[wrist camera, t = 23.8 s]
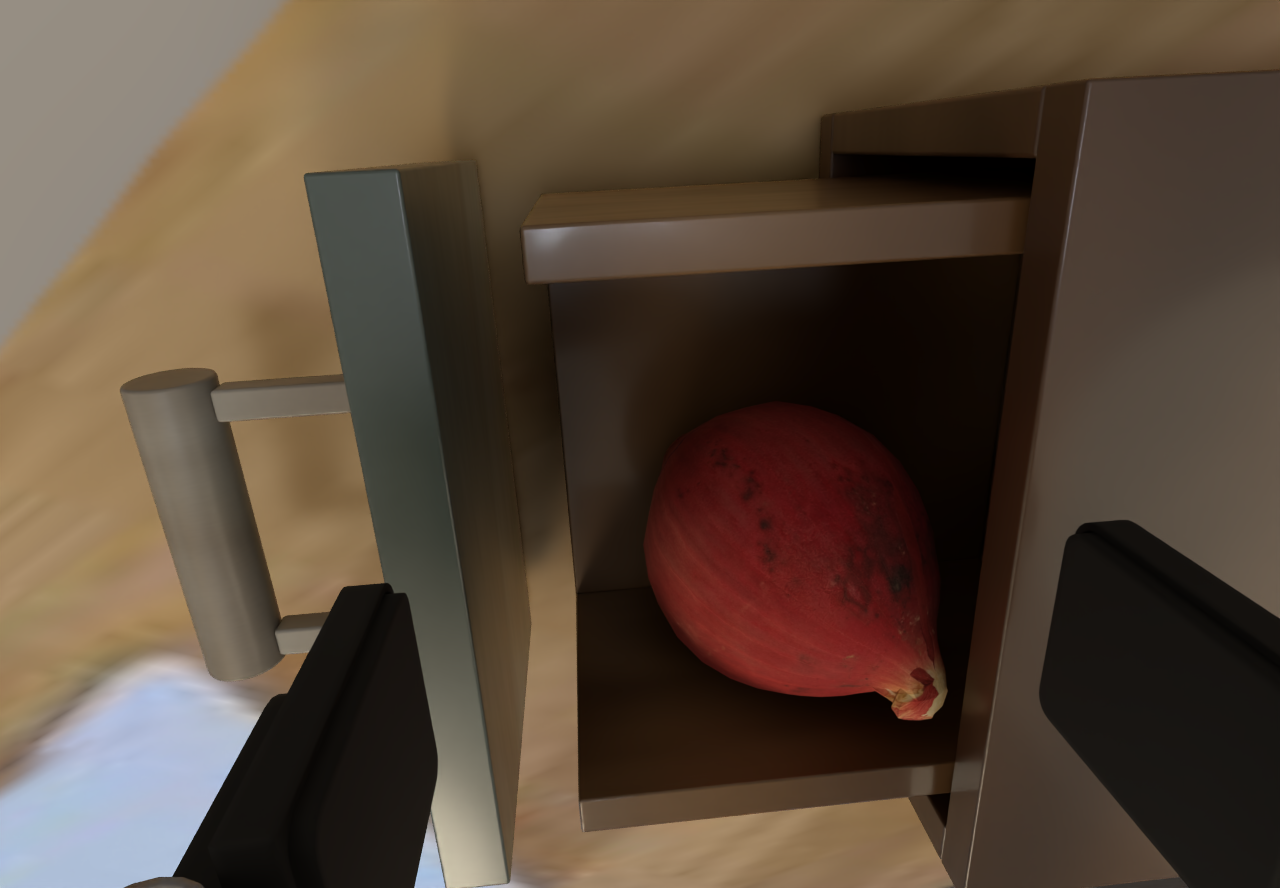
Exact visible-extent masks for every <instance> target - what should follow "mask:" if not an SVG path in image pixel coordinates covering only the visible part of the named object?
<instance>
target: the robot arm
mask: <svg viewBox="0 0 1280 888" xmlns="http://www.w3.org/2000/svg"><path fill="white" fill-rule="evenodd" d="M1039 700H1040V704H1041V707H1042V710H1043V712H1044V714H1045V716H1046V717H1047V718H1048V720H1049V721H1050V722H1051V723H1052V725H1053V726H1054V727H1055V728H1056V729H1057V731H1058V732H1059V733H1060V734H1061V735H1062V737H1063V738H1064V739H1065V740H1066V741H1067V743H1068V744H1069V745H1070V746H1071V747H1072V749H1073V750H1074V751H1075V752H1076V753H1077V754H1078V756H1079V757H1080V758H1081V759H1082V760H1083V762H1084V763H1085V764H1086V765H1087V766H1088V768H1089V769H1090V770H1091V771H1092V772H1093V774H1094V775H1095V776H1096V777H1097V778H1098V780H1099V781H1100V782H1101V783H1102V784H1103V786H1104V787H1105V788H1106V789H1107V790H1108V791H1109V793H1110V794H1111V795H1112V796H1113V797H1114V799H1115V800H1116V801H1117V802H1118V803H1119V805H1120V806H1121V807H1122V808H1123V809H1124V811H1125V812H1126V813H1127V814H1128V815H1129V817H1130V818H1131V819H1132V820H1133V821H1134V823H1135V824H1136V825H1137V826H1138V827H1139V829H1140V830H1141V831H1142V832H1143V833H1144V834H1145V836H1146V837H1147V838H1148V839H1149V840H1150V842H1151V843H1152V844H1153V845H1154V846H1155V848H1156V849H1157V850H1158V851H1159V852H1160V854H1161V855H1162V856H1163V857H1164V858H1165V860H1166V861H1167V862H1168V863H1169V864H1170V866H1171V867H1172V868H1173V869H1174V870H1175V871H1176V873H1177V874H1178V875H1179V876H1180V877H1181V879H1182V880H1183V881H1184V882H1185V883H1186V885H1187V886H1188V887H1189V888H1280V618H1278V617H1277V616H1275V615H1274V614H1272V613H1271V612H1269V611H1268V610H1266V609H1265V608H1263V607H1262V606H1260V605H1259V604H1257V603H1256V602H1254V601H1253V600H1251V599H1249V598H1248V597H1246V596H1245V595H1243V594H1242V593H1240V592H1239V591H1237V590H1236V589H1234V588H1233V587H1231V586H1230V585H1228V584H1227V583H1225V582H1224V581H1222V580H1221V579H1219V578H1218V577H1216V576H1215V575H1213V574H1212V573H1210V572H1209V571H1207V570H1206V569H1204V568H1203V567H1201V566H1200V565H1198V564H1197V563H1195V562H1194V561H1192V560H1191V559H1189V558H1188V557H1186V556H1185V555H1183V554H1181V553H1180V552H1178V551H1177V550H1175V549H1174V548H1172V547H1171V546H1169V545H1168V544H1166V543H1165V542H1163V541H1162V540H1160V539H1159V538H1157V537H1156V536H1154V535H1153V534H1151V533H1150V532H1148V531H1147V530H1145V529H1144V528H1142V527H1141V526H1139V525H1138V524H1136V523H1134V522H1132V521H1130V520H1113V521H1101V522H1090V523H1084V524H1082V525H1080V526H1079V528H1078V529H1077V530H1076V533H1075V534H1073V535H1071V536H1069V538H1068V539H1067V540H1066V543H1065V547H1064V553H1063V558H1062V564H1061V569H1060V575H1059V581H1058V586H1057V592H1056V597H1055V603H1054V608H1053V614H1052V620H1051V625H1050V631H1049V636H1048V642H1047V648H1046V653H1045V659H1044V664H1043V670H1042V676H1041V681H1040V687H1039ZM437 775H438V754H437V747H436V742H435V736H434V731H433V726H432V720H431V715H430V710H429V704H428V699H427V694H426V688H425V683H424V678H423V672H422V667H421V662H420V657H419V651H418V646H417V641H416V635H415V630H414V625H413V619H412V614H411V609H410V603H409V599H408V597H407V594H406V593H394V591H393V589H392V587H391V585H390V584H389V583H381V584H370V585H358V586H347V587H344V588H343V589H342V590H341V592H340V593H339V595H338V597H337V599H336V601H335V603H334V605H333V607H332V609H331V611H330V613H329V615H328V617H327V618H326V620H325V622H324V624H323V626H322V628H321V630H320V632H319V634H318V636H317V638H316V640H315V642H314V643H313V645H312V647H311V649H310V651H309V653H308V655H307V657H306V659H305V661H304V663H303V665H302V667H301V668H300V670H299V672H298V674H297V676H296V678H295V680H294V682H293V684H292V686H291V688H290V690H289V691H288V693H287V694H278V695H277V696H275V697H273V698H272V699H271V700H270V701H269V703H268V704H267V705H266V707H265V708H264V710H263V712H262V714H261V716H260V717H259V719H258V721H257V723H256V725H255V727H254V728H253V730H252V732H251V734H250V736H249V738H248V739H247V741H246V743H245V745H244V747H243V748H242V750H241V752H240V754H239V756H238V758H237V759H236V761H235V763H234V765H233V767H232V769H231V770H230V772H229V774H228V776H227V778H226V780H225V781H224V783H223V785H222V787H221V789H220V790H219V792H218V794H217V796H216V798H215V800H214V801H213V803H212V805H211V807H210V809H209V811H208V812H207V814H206V816H205V818H204V820H203V822H202V823H201V825H200V827H199V829H198V831H197V832H196V834H195V836H194V838H193V840H192V842H191V843H190V845H189V847H188V849H187V851H186V853H185V854H184V856H183V858H182V860H181V862H180V864H179V865H178V867H177V869H176V871H175V873H174V874H173V876H172V877H158V878H154V879H150V880H146V881H142V882H138V883H134V884H131V885H129V886H127V887H124V888H414V886H415V881H416V876H417V872H418V867H419V862H420V857H421V853H422V848H423V843H424V838H425V834H426V829H427V824H428V820H429V815H430V810H431V805H432V801H433V796H434V791H435V787H436V782H437Z"/></svg>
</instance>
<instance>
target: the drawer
mask: <svg viewBox="0 0 1280 888" xmlns="http://www.w3.org/2000/svg"><path fill="white" fill-rule="evenodd" d="M1034 171H1035V166H1034V167H1016V168H998V169H980V170H962V171H944V172H926V173H908V174H890V175H872V176H854V177H836V178H818V179H800V180H782V181H764V182H746V183H728V184H710V185H692V186H674V187H657V188H639V189H621V190H603V191H585V192H567V193H549V194H541V196H540V197H539V199H538V201H537V202H536V204H535V205H534V207H533V208H532V210H531V211H530V213H529V215H528V216H527V218H526V219H525V221H524V222H523V224H522V226H521V228H520V238H521V248H522V257H523V267H524V277H525V282H526V283H527V284H529V285H534V284H547V286H548V297H549V307H550V318H551V329H552V340H553V351H554V361H555V372H556V383H557V394H558V405H559V415H560V426H561V437H562V448H563V459H564V469H565V480H566V491H567V502H568V513H569V523H570V534H571V545H572V556H573V566H574V577H575V588H576V631H577V711H578V791H579V810H580V819H581V829H582V831H583V832H590V831H599V830H608V829H618V828H627V827H636V826H645V825H655V824H664V823H673V822H682V821H692V820H701V819H710V818H719V817H729V816H738V815H747V814H757V813H766V812H775V811H784V810H794V809H803V808H812V807H821V806H831V805H840V804H849V803H858V802H868V801H877V800H886V799H896V798H905V797H914V796H923V795H933V794H942V793H951V787H952V780H953V772H954V765H955V758H956V750H957V743H958V735H959V728H960V720H961V713H962V706H963V698H964V691H965V683H966V676H967V668H968V661H969V654H970V646H971V639H972V631H973V624H974V616H975V609H976V602H977V594H978V587H979V579H980V572H981V564H982V557H983V550H984V542H985V535H986V527H987V520H988V512H989V505H990V498H991V490H992V483H993V475H994V468H995V460H996V453H997V446H998V438H999V431H1000V423H1001V416H1002V409H1003V401H1004V394H1005V386H1006V379H1007V371H1008V364H1009V357H1010V349H1011V342H1012V334H1013V327H1014V319H1015V312H1016V305H1017V297H1018V290H1019V282H1020V275H1021V267H1022V260H1023V253H1024V245H1025V238H1026V230H1027V223H1028V215H1029V208H1030V201H1031V193H1032V186H1033V178H1034ZM304 182H305V187H306V192H307V197H308V202H309V207H310V212H311V217H312V222H313V227H314V232H315V237H316V242H317V247H318V252H319V257H320V262H321V267H322V272H323V277H324V282H325V287H326V292H327V297H328V302H329V307H330V312H331V317H332V322H333V327H334V332H335V337H336V342H337V347H338V352H339V357H340V362H341V367H342V372H343V374H340V375H325V376H311V377H296V378H282V379H267V380H253V381H238V382H225V383H223V384H221V385H220V384H219V380H218V376H217V374H216V372H215V371H214V370H211V369H205V368H184V369H175V370H168V371H162V372H157V373H153V374H148V375H145V376H141V377H138V378H135V379H133V380H131V381H128V382H127V383H125V384H123V385H122V386H121V388H120V393H121V396H122V399H123V403H124V406H125V409H126V412H127V415H128V418H129V422H130V425H131V428H132V431H133V434H134V438H135V441H136V444H137V447H138V450H139V453H140V457H141V460H142V463H143V466H144V469H145V472H146V476H147V479H148V482H149V485H150V488H151V492H152V495H153V498H154V501H155V504H156V507H157V511H158V514H159V517H160V520H161V523H162V526H163V530H164V533H165V536H166V539H167V542H168V546H169V549H170V552H171V555H172V558H173V561H174V565H175V568H176V571H177V574H178V577H179V580H180V584H181V587H182V590H183V593H184V596H185V600H186V603H187V606H188V609H189V612H190V615H191V619H192V622H193V625H194V628H195V631H196V634H197V638H198V641H199V644H200V647H201V650H202V654H203V657H204V660H205V663H206V666H207V669H208V672H209V674H210V675H211V676H212V677H213V678H215V679H217V680H220V681H227V682H232V681H241V680H245V679H249V678H252V677H255V676H258V675H260V674H262V673H264V672H266V671H268V670H270V669H271V668H273V667H274V666H276V665H277V664H278V663H279V662H280V661H281V660H282V659H283V658H284V657H285V655H286V654H297V653H308V652H309V651H310V649H311V647H312V645H313V643H314V642H315V640H316V638H317V636H318V634H319V632H320V630H321V628H322V626H323V624H324V622H325V620H326V618H327V617H328V615H329V613H330V612H322V613H311V614H300V615H288V616H285V617H283V619H281V616H280V612H279V608H278V604H277V600H276V597H275V593H274V589H273V585H272V581H271V578H270V574H269V570H268V566H267V562H266V559H265V555H264V551H263V547H262V543H261V540H260V536H259V532H258V528H257V524H256V521H255V517H254V513H253V509H252V505H251V502H250V498H249V494H248V490H247V487H246V483H245V479H244V475H243V471H242V468H241V464H240V460H239V456H238V452H237V449H236V445H235V441H234V437H233V433H232V430H231V426H230V422H231V421H245V420H258V419H272V418H286V417H300V416H314V415H328V414H341V413H351V417H352V422H353V427H354V432H355V437H356V442H357V447H358V452H359V457H360V462H361V467H362V472H363V477H364V482H365V487H366V492H367V497H368V502H369V507H370V512H371V517H372V522H373V527H374V532H375V537H376V542H377V547H378V552H379V557H380V562H381V567H382V572H383V577H384V582H385V583H389V584H390V585H391V587H392V589H393V591H394V593H406V594H407V597H408V599H409V603H410V609H411V614H412V619H413V625H414V630H415V635H416V641H417V646H418V651H419V657H420V662H421V667H422V672H423V678H424V683H425V688H426V694H427V699H428V704H429V710H430V715H431V720H432V726H433V731H434V736H435V742H436V747H437V754H438V775H437V782H436V787H435V791H434V796H433V801H432V805H431V810H430V812H431V817H432V822H433V827H434V832H435V837H436V842H437V847H438V852H439V857H440V862H441V867H442V872H443V877H444V882H445V887H446V888H473V887H482V886H491V885H500V884H508V883H509V882H510V877H511V865H512V853H513V841H514V828H515V816H516V804H517V792H518V780H519V768H520V756H521V743H522V731H523V719H524V707H525V695H526V683H527V671H528V659H529V646H530V634H531V615H530V606H529V598H528V590H527V581H526V573H525V565H524V556H523V548H522V540H521V531H520V523H519V515H518V506H517V498H516V490H515V481H514V473H513V465H512V456H511V448H510V440H509V431H508V423H507V415H506V406H505V398H504V389H503V381H502V373H501V364H500V356H499V348H498V339H497V331H496V323H495V314H494V306H493V298H492V289H491V281H490V273H489V264H488V256H487V248H486V239H485V231H484V223H483V214H482V206H481V198H480V189H479V181H478V173H477V164H476V161H475V160H461V161H442V162H424V163H413V164H402V165H391V166H380V167H369V168H358V169H347V170H336V171H325V172H314V173H306V174H305V175H304ZM773 401H780V402H787V403H793V404H800V405H806V406H812V407H815V408H818V409H821V410H824V411H827V412H830V413H833V414H836V415H838V416H840V417H842V418H844V419H846V420H847V421H849V422H851V423H853V424H855V425H856V426H858V427H860V428H862V429H864V430H865V431H867V432H869V433H871V434H873V435H874V436H875V437H876V438H877V439H878V440H879V441H880V442H881V443H882V444H883V445H884V446H885V447H886V448H887V449H888V450H889V451H890V452H891V453H892V454H893V455H894V456H895V457H896V458H897V459H898V460H899V461H900V462H901V464H902V465H903V467H904V469H905V470H906V472H907V473H908V475H909V476H910V478H911V480H912V481H913V483H914V484H915V486H916V488H917V489H918V491H919V494H920V496H921V499H922V501H923V504H924V507H925V509H926V512H927V515H928V517H929V520H930V523H931V526H932V529H933V533H934V541H935V548H936V554H937V560H938V566H939V572H940V578H941V587H940V604H939V611H938V617H937V638H938V645H939V649H940V653H941V656H942V659H943V663H944V666H945V670H946V683H947V690H948V692H947V695H946V698H945V700H944V703H943V706H942V707H941V708H940V709H939V710H938V711H937V712H936V713H935V714H934V715H933V717H932V718H930V719H924V720H903V719H899V718H898V717H897V716H896V714H895V712H894V711H893V710H892V708H891V706H892V704H893V702H891V701H890V700H889V699H887V698H886V697H884V696H882V695H881V694H879V693H878V692H876V691H873V692H865V693H858V694H852V695H846V696H832V697H811V696H797V695H790V694H783V693H778V692H773V691H768V690H762V689H757V688H755V687H752V686H749V685H746V684H744V683H741V682H738V681H735V680H733V679H730V678H728V677H727V676H725V675H723V674H722V673H720V672H718V671H716V670H715V669H713V668H711V667H710V666H708V665H706V664H705V663H703V662H702V661H701V660H700V659H699V658H698V657H697V656H696V655H695V654H694V653H693V652H692V651H691V650H690V649H689V648H688V647H687V646H686V645H685V644H684V643H683V642H682V641H681V640H680V639H679V638H678V637H677V636H676V634H675V632H674V631H673V629H672V627H671V625H670V624H669V622H668V620H667V618H666V617H665V615H664V613H663V612H662V610H661V608H660V606H659V605H658V602H657V599H656V597H655V594H654V592H653V589H652V586H651V584H650V581H649V578H648V572H647V566H646V559H645V553H644V546H643V543H644V538H645V532H646V527H647V521H648V516H649V511H650V506H651V501H652V496H653V491H654V488H655V485H656V483H657V480H658V477H659V474H660V472H661V469H662V463H663V459H664V455H665V452H666V450H667V449H668V448H669V446H670V445H671V444H672V443H673V442H674V441H675V440H676V439H677V438H679V437H680V436H681V435H683V434H685V433H688V432H690V431H691V430H693V429H695V428H697V427H698V426H700V425H702V424H703V423H705V422H707V421H709V420H711V419H712V418H714V417H716V416H718V415H722V414H725V413H728V412H732V411H735V410H738V409H742V408H745V407H750V406H754V405H759V404H763V403H768V402H773Z"/></svg>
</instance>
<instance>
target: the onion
mask: <svg viewBox="0 0 1280 888" xmlns="http://www.w3.org/2000/svg"><path fill="white" fill-rule="evenodd" d="M643 546H644V553H645V559H646V566H647V572H648V578H649V581H650V584H651V586H652V589H653V592H654V594H655V597H656V599H657V602H658V605H659V606H660V608H661V610H662V612H663V613H664V615H665V617H666V618H667V620H668V622H669V624H670V625H671V627H672V629H673V631H674V632H675V634H676V636H677V637H678V638H679V639H680V640H681V641H682V642H683V643H684V644H685V645H686V646H687V647H688V648H689V649H690V650H691V651H692V652H693V653H694V654H695V655H696V656H697V657H698V658H699V659H700V660H701V661H702V662H703V663H705V664H706V665H708V666H710V667H711V668H713V669H715V670H716V671H718V672H720V673H722V674H723V675H725V676H727V677H728V678H730V679H733V680H735V681H738V682H741V683H744V684H746V685H749V686H752V687H755V688H757V689H762V690H768V691H773V692H778V693H783V694H790V695H797V696H811V697H832V696H846V695H852V694H858V693H865V692H873V691H876V692H878V693H879V694H881V695H882V696H884V697H886V698H887V699H889V700H890V701H891V702H893V704H892V706H891V708H892V710H893V711H894V712H895V714H896V716H897V717H898V718H899V719H903V720H924V719H930V718H932V717H933V715H934V714H935V713H936V712H937V711H938V710H939V709H940V708H941V707H942V706H943V703H944V700H945V698H946V695H947V692H948V690H947V683H946V670H945V666H944V663H943V659H942V656H941V653H940V649H939V645H938V638H937V617H938V611H939V604H940V587H941V578H940V572H939V566H938V560H937V554H936V548H935V541H934V533H933V529H932V526H931V523H930V520H929V517H928V515H927V512H926V509H925V507H924V504H923V501H922V499H921V496H920V494H919V491H918V489H917V488H916V486H915V484H914V483H913V481H912V480H911V478H910V476H909V475H908V473H907V472H906V470H905V469H904V467H903V465H902V464H901V462H900V461H899V460H898V459H897V458H896V457H895V456H894V455H893V454H892V453H891V452H890V451H889V450H888V449H887V448H886V447H885V446H884V445H883V444H882V443H881V442H880V441H879V440H878V439H877V438H876V437H875V436H874V435H873V434H871V433H869V432H867V431H865V430H864V429H862V428H860V427H858V426H856V425H855V424H853V423H851V422H849V421H847V420H846V419H844V418H842V417H840V416H838V415H836V414H833V413H830V412H827V411H824V410H821V409H818V408H815V407H812V406H806V405H800V404H793V403H787V402H780V401H773V402H768V403H763V404H759V405H754V406H750V407H745V408H742V409H738V410H735V411H732V412H728V413H725V414H722V415H718V416H716V417H714V418H712V419H711V420H709V421H707V422H705V423H703V424H702V425H700V426H698V427H697V428H695V429H693V430H691V431H690V432H688V433H685V434H683V435H681V436H680V437H679V438H677V439H676V440H675V441H674V442H673V443H672V444H671V445H670V446H669V448H668V449H667V450H666V452H665V455H664V459H663V463H662V469H661V472H660V474H659V477H658V480H657V483H656V485H655V488H654V491H653V496H652V501H651V506H650V511H649V516H648V521H647V527H646V532H645V538H644V543H643Z"/></svg>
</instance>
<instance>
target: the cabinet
mask: <svg viewBox="0 0 1280 888" xmlns="http://www.w3.org/2000/svg"><path fill="white" fill-rule="evenodd" d="M1034 166H1035V171H1034V178H1033V186H1032V193H1031V201H1030V208H1029V215H1028V223H1027V230H1026V238H1025V245H1024V253H1023V260H1022V267H1021V275H1020V282H1019V290H1018V297H1017V305H1016V312H1015V319H1014V327H1013V334H1012V342H1011V349H1010V357H1009V364H1008V371H1007V379H1006V386H1005V394H1004V401H1003V409H1002V416H1001V423H1000V431H999V438H998V446H997V453H996V460H995V468H994V475H993V483H992V490H991V498H990V505H989V512H988V520H987V527H986V535H985V542H984V550H983V557H982V564H981V572H980V579H979V587H978V594H977V602H976V609H975V616H974V624H973V631H972V639H971V646H970V654H969V661H968V668H967V676H966V683H965V691H964V698H963V706H962V713H961V720H960V728H959V735H958V743H957V750H956V758H955V765H954V772H953V780H952V787H951V793H942V794H933V795H923V796H914V797H908V798H909V800H910V802H911V804H912V805H913V807H914V809H915V811H916V813H917V815H918V817H919V819H920V821H921V823H922V825H923V827H924V829H925V830H926V832H927V834H928V836H929V838H930V840H931V842H932V844H933V846H934V848H935V850H936V852H937V853H938V855H939V857H940V859H942V863H943V865H944V867H945V869H946V871H947V873H948V875H949V877H950V879H951V880H952V882H953V884H954V886H955V888H1089V887H1097V886H1106V885H1114V884H1123V883H1131V882H1140V881H1148V880H1157V879H1166V878H1174V877H1180V876H1179V875H1178V874H1177V873H1176V871H1175V870H1174V869H1173V868H1172V867H1171V866H1170V864H1169V863H1168V862H1167V861H1166V860H1165V858H1164V857H1163V856H1162V855H1161V854H1160V852H1159V851H1158V850H1157V849H1156V848H1155V846H1154V845H1153V844H1152V843H1151V842H1150V840H1149V839H1148V838H1147V837H1146V836H1145V834H1144V833H1143V832H1142V831H1141V830H1140V829H1139V827H1138V826H1137V825H1136V824H1135V823H1134V821H1133V820H1132V819H1131V818H1130V817H1129V815H1128V814H1127V813H1126V812H1125V811H1124V809H1123V808H1122V807H1121V806H1120V805H1119V803H1118V802H1117V801H1116V800H1115V799H1114V797H1113V796H1112V795H1111V794H1110V793H1109V791H1108V790H1107V789H1106V788H1105V787H1104V786H1103V784H1102V783H1101V782H1100V781H1099V780H1098V778H1097V777H1096V776H1095V775H1094V774H1093V772H1092V771H1091V770H1090V769H1089V768H1088V766H1087V765H1086V764H1085V763H1084V762H1083V760H1082V759H1081V758H1080V757H1079V756H1078V754H1077V753H1076V752H1075V751H1074V750H1073V749H1072V747H1071V746H1070V745H1069V744H1068V743H1067V741H1066V740H1065V739H1064V738H1063V737H1062V735H1061V734H1060V733H1059V732H1058V731H1057V729H1056V728H1055V727H1054V726H1053V725H1052V723H1051V722H1050V721H1049V720H1048V718H1047V717H1046V716H1045V714H1044V712H1043V710H1042V707H1041V704H1040V700H1039V687H1040V681H1041V676H1042V670H1043V664H1044V659H1045V653H1046V648H1047V642H1048V636H1049V631H1050V625H1051V620H1052V614H1053V608H1054V603H1055V597H1056V592H1057V586H1058V581H1059V575H1060V569H1061V564H1062V558H1063V553H1064V547H1065V543H1066V540H1067V539H1068V538H1069V536H1071V535H1073V534H1075V533H1076V530H1077V529H1078V528H1079V526H1080V525H1082V524H1084V523H1090V522H1101V521H1113V520H1130V521H1132V522H1134V523H1136V524H1138V525H1139V526H1141V527H1142V528H1144V529H1145V530H1147V531H1148V532H1150V533H1151V534H1153V535H1154V536H1156V537H1157V538H1159V539H1160V540H1162V541H1163V542H1165V543H1166V544H1168V545H1169V546H1171V547H1172V548H1174V549H1175V550H1177V551H1178V552H1180V553H1181V554H1183V555H1185V556H1186V557H1188V558H1189V559H1191V560H1192V561H1194V562H1195V563H1197V564H1198V565H1200V566H1201V567H1203V568H1204V569H1206V570H1207V571H1209V572H1210V573H1212V574H1213V575H1215V576H1216V577H1218V578H1219V579H1221V580H1222V581H1224V582H1225V583H1227V584H1228V585H1230V586H1231V587H1233V588H1234V589H1236V590H1237V591H1239V592H1240V593H1242V594H1243V595H1245V596H1246V597H1248V598H1249V599H1251V600H1253V601H1254V602H1256V603H1257V604H1259V605H1260V606H1262V607H1263V608H1265V609H1266V610H1268V611H1269V612H1271V613H1272V614H1274V615H1275V616H1277V617H1278V618H1280V69H1279V70H1258V71H1238V72H1217V73H1196V74H1175V75H1155V76H1134V77H1113V78H1093V79H1084V80H1076V81H1069V82H1062V83H1054V84H1050V85H1041V86H1033V87H1026V88H1019V89H1011V90H1004V91H996V92H989V93H982V94H974V95H967V96H959V97H952V98H945V99H937V100H930V101H923V102H915V103H908V104H900V105H893V106H886V107H878V108H871V109H863V110H856V111H849V112H841V113H834V114H826V115H823V116H822V118H821V144H820V172H819V178H836V177H854V176H872V175H890V174H908V173H926V172H944V171H962V170H980V169H998V168H1016V167H1034Z"/></svg>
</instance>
